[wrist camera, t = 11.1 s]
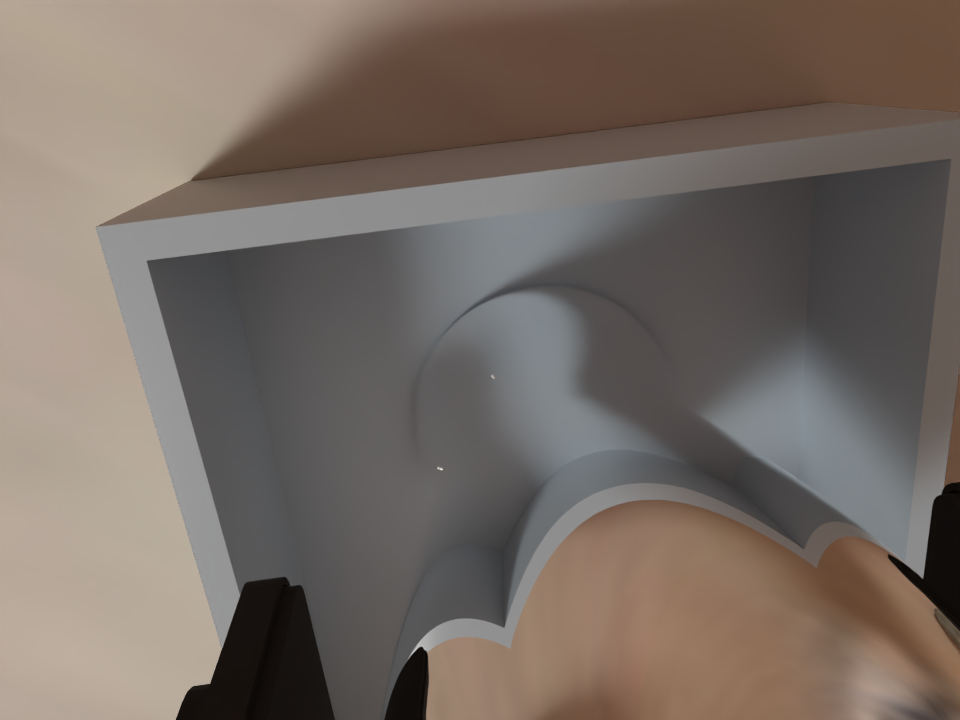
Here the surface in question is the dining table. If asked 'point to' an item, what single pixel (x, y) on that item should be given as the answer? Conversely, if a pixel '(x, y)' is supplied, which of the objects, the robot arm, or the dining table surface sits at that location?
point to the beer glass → (636, 549)
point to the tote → (528, 263)
